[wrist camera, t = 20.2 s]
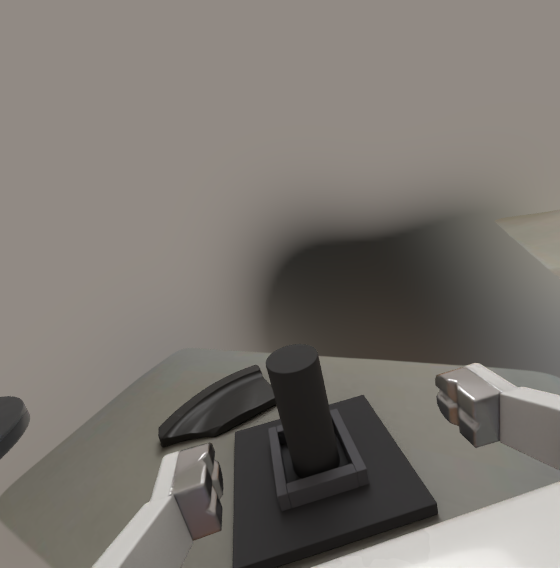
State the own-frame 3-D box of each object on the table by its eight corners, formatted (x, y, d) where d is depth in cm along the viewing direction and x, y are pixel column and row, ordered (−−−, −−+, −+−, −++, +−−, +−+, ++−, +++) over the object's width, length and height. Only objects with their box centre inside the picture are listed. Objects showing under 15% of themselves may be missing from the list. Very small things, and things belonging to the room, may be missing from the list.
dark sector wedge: (160, 416, 37) (156, 405, 36) (258, 373, 41) (256, 363, 41) (161, 463, 29) (156, 450, 29) (282, 404, 34) (278, 392, 33)
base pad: (236, 581, 19) (226, 553, 18) (237, 439, 30) (231, 419, 30) (438, 514, 20) (435, 486, 19) (364, 402, 31) (361, 382, 31)
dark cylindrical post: (301, 490, 22) (272, 380, 20) (287, 451, 26) (261, 354, 23) (348, 470, 23) (326, 360, 20) (327, 434, 27) (307, 338, 24)
